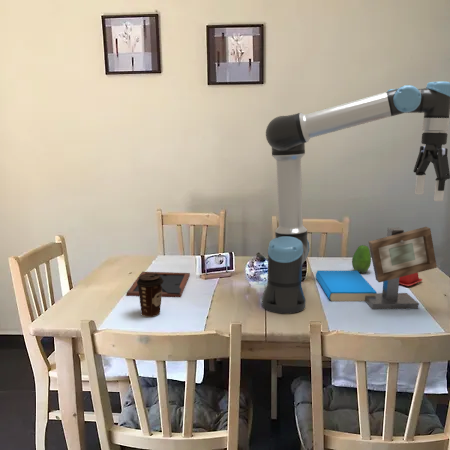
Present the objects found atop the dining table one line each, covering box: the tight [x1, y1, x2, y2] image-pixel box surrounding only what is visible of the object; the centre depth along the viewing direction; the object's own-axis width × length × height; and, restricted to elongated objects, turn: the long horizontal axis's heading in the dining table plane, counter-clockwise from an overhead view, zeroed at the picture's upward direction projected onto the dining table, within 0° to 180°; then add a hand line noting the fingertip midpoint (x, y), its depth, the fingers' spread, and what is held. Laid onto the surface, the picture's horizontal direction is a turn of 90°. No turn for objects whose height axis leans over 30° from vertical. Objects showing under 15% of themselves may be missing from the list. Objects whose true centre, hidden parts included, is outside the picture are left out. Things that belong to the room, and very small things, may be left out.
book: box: [315, 270, 378, 302], centre depth 182 cm, size 17×4×25 cm
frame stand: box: [364, 227, 420, 310], centre depth 165 cm, size 16×10×27 cm, turn 92°
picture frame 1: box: [126, 271, 191, 298], centre depth 185 cm, size 20×2×25 cm
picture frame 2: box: [368, 226, 438, 283], centre depth 160 cm, size 20×4×14 cm, turn 92°
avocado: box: [351, 244, 372, 274], centre depth 202 cm, size 8×8×12 cm
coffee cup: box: [137, 273, 163, 318], centre depth 157 cm, size 9×8×13 cm
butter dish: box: [399, 272, 423, 287], centre depth 191 cm, size 12×12×8 cm
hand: (428, 197), depth 157 cm, fingers open, 13 cm apart
